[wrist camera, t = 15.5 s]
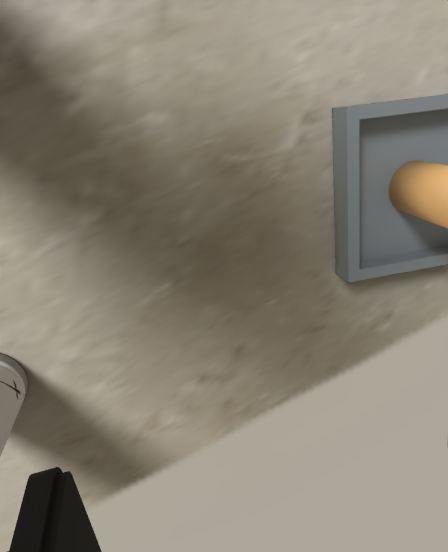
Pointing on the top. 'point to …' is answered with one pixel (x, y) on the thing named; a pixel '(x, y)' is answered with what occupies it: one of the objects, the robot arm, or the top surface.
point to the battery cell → (421, 191)
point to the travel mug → (10, 395)
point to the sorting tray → (385, 186)
